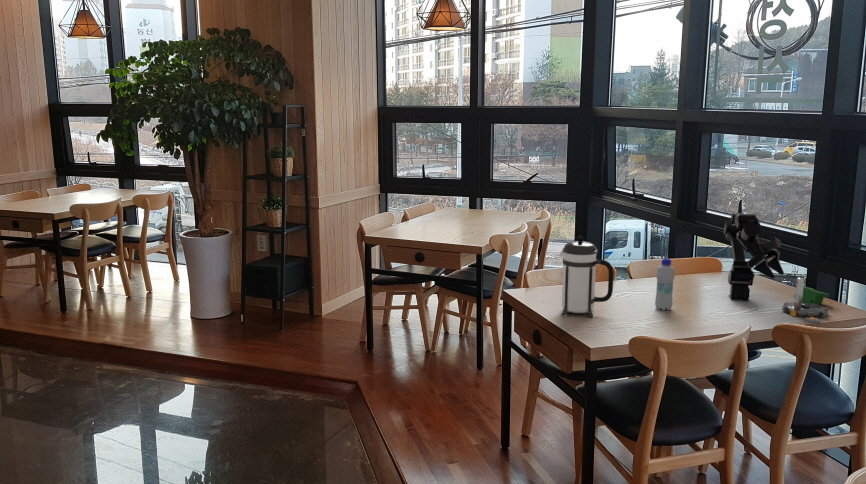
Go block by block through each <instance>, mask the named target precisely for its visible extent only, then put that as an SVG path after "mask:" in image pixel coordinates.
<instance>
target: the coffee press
mask: <svg viewBox="0 0 866 484" xmlns="http://www.w3.org/2000/svg"><path fill="white" fill-rule="evenodd" d="M576 239H577V240H574V241H569V242H567V243H565V244H564V247H563V248H562V250H561V252H560V253H559V254H558V257H562V287H561V289H562V291H561V293H562V294H561V307H562V308H563V310H562V312H561V315H562V316H563V315H567V316H568V315H569V314H570V313H572V314H585V315H586V316H587V317H588V316H590V318H592V317H594V314H593V312H592V311H593V310H594V308H595V303H603V302H607V301H609V300H610V299H611V297H612V296H613V290H614V269H613V266H612V264H611V263H610V262H609V261H608V260H604V259H597V254H598V248H597V246H596V245H595V244H594V243H592V242H589V241H585V240H584V239H585V238H584V237H583V235H578V236H577V237H576ZM597 265H601V266H605V267H606V268H607V271H608V282H607V283H608V284H607V293H606V295H605V296H602V297H601V296H595V294H596V293H595V292H596V290H595V289H596V271H597V270H596V266H597Z"/></svg>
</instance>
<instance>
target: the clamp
mask: <svg viewBox="0 0 866 484" xmlns="http://www.w3.org/2000/svg"><path fill="white" fill-rule="evenodd" d="M795 293H796V291H795V292H794V294H795ZM829 295H830V294H829V293H825V292H822V291H819V290H817V289H815V288H812V287H808V286H805V285H804V286H803V296H802V302H803V303H810V304H818V305H820V304H819V303H822V304H823V302H824V298H829ZM793 296H794V298H795V295H793Z"/></svg>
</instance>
